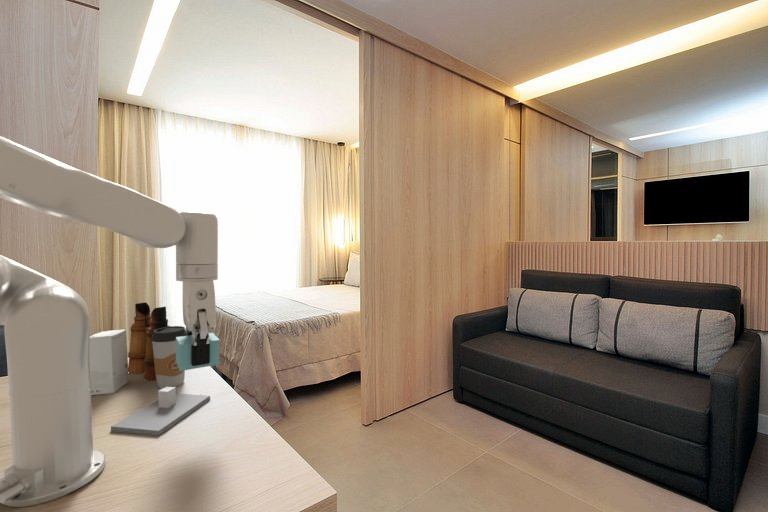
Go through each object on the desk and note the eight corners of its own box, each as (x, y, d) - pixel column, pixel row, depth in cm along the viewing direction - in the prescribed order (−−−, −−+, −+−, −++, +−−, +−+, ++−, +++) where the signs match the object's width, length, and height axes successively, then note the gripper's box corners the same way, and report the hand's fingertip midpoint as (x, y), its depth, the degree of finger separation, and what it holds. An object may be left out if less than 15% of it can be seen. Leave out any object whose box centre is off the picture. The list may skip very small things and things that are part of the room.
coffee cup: (160, 393, 90) (158, 335, 89) (147, 385, 95) (145, 330, 94) (194, 382, 97) (192, 328, 96) (180, 375, 102) (179, 324, 101)
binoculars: (122, 370, 106) (120, 304, 105) (152, 362, 113) (150, 300, 112) (152, 383, 96) (150, 310, 95) (183, 374, 103) (181, 306, 102)
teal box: (219, 364, 72) (219, 337, 72) (179, 371, 68) (180, 342, 67) (212, 355, 77) (212, 329, 77) (175, 361, 73) (175, 334, 73)
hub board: (158, 435, 71) (158, 412, 70) (110, 431, 72) (110, 408, 72) (209, 399, 86) (209, 380, 86) (169, 396, 88) (169, 377, 88)
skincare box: (114, 394, 90) (112, 336, 89) (86, 396, 88) (84, 337, 88) (129, 381, 98) (127, 328, 97) (104, 383, 96) (102, 329, 96)
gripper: (226, 275, 67) (226, 367, 68) (209, 269, 81) (209, 346, 82) (181, 277, 63) (181, 376, 63) (171, 270, 77) (171, 351, 77)
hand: (197, 358), depth 72 cm, fingers closed on teal box, 7 cm apart
